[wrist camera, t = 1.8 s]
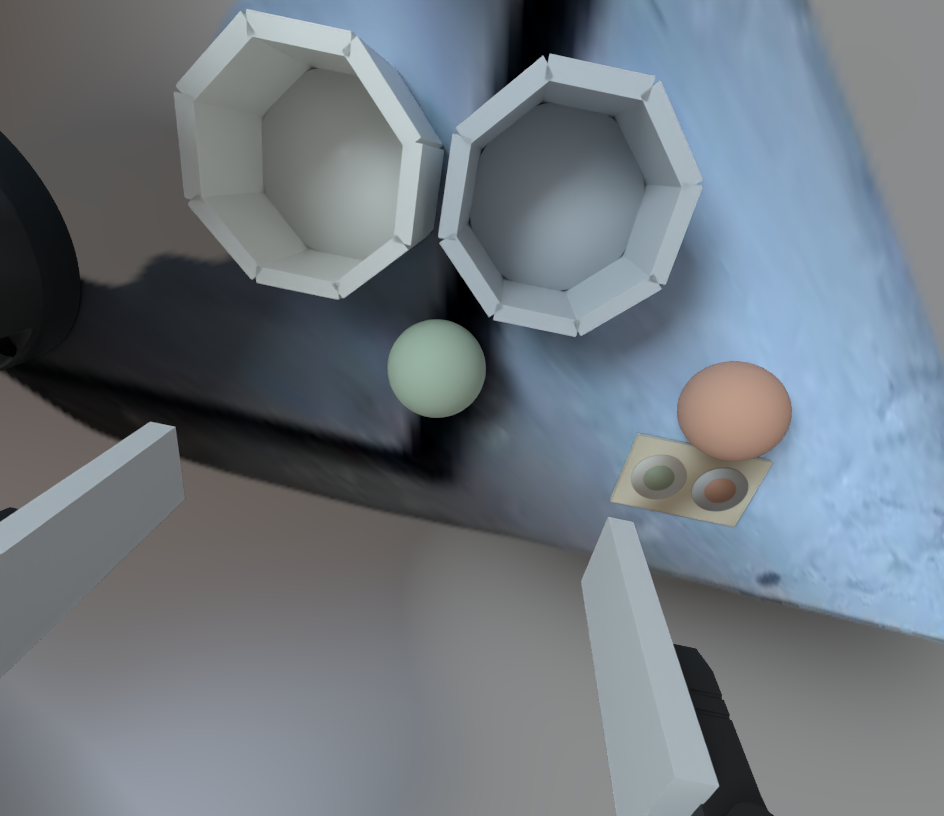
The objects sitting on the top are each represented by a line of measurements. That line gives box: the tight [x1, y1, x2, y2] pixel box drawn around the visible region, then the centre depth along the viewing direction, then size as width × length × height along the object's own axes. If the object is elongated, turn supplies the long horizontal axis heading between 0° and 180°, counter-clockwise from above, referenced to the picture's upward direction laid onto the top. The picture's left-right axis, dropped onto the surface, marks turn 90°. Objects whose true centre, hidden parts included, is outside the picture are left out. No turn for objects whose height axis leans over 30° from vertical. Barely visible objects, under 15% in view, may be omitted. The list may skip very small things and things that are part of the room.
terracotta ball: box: [677, 361, 792, 461], centre depth 23 cm, size 5×5×5 cm
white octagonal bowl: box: [174, 9, 444, 300], centre depth 20 cm, size 9×9×6 cm
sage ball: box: [387, 319, 486, 418], centre depth 24 cm, size 5×5×5 cm
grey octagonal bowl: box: [438, 54, 703, 337], centre depth 19 cm, size 9×9×6 cm
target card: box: [610, 433, 772, 527], centre depth 28 cm, size 8×5×1 cm, turn 79°
